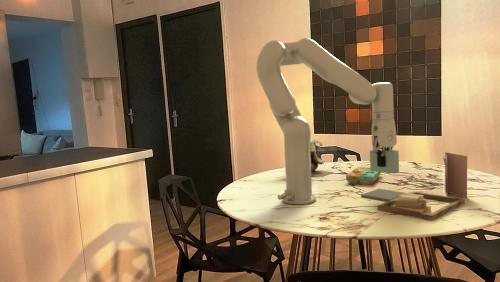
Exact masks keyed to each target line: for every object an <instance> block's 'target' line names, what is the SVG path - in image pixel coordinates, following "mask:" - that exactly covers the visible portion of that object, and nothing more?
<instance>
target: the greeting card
mask: <svg viewBox="0 0 500 282" xmlns="http://www.w3.org/2000/svg"><path fill="white" fill-rule="evenodd" d="M442 159H443V163H444V193H445V196H447V197H448V193H449V194H450V193H451V194H454V195H457V196H458V197H459V196H460V197H463V198H464V199H465V198H466V199H468V155H463V154H456V153H452V152H446V151H445V152H444V157H442Z"/></svg>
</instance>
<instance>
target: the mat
mask: <svg viewBox="0 0 500 282" xmlns="http://www.w3.org/2000/svg"><path fill="white" fill-rule="evenodd" d="M404 193H405V192H404V191H396V190H389V189H383V188H377V189H373V190H371V191H368V192H365V193H363V194H361V195H360V197H361V198H366V199H372V200H377V201H383V202H387V201H390V200H392V199H395V198H398V196H399V195H402V194H404Z"/></svg>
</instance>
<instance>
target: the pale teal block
mask: <svg viewBox="0 0 500 282" xmlns="http://www.w3.org/2000/svg"><path fill="white" fill-rule="evenodd" d="M379 150H382V149H379ZM399 152H400V151H399V150H397V149H396V150H395V149H392V150H384V156H386V166H385V167H379V166H377V156H376V153H375V152H374V151H373V148H372V149H370V150H369V162H370V164H369V165H370V167H369V168H370V170H371V171H376V172H381V173H387V174H398V173H400V163H399V162H400V160H399V159H400V158H399V157H400V155H399V154H400V153H399Z"/></svg>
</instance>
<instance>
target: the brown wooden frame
mask: <svg viewBox="0 0 500 282" xmlns="http://www.w3.org/2000/svg"><path fill="white" fill-rule="evenodd" d="M409 193H410V194H417V195H423V199H429V200H434V201H440V202H441V201H442V202H445V203H446V202H448V203H450V204H447V205H445V206H444V207H441V208H439V209H437V210H436V211H434V212H431V213H422V212H416V211H411V210H406V209H400V208H395V207H391V206H392V205H394V204H396V200H397V199H398V198H395V199H392V200H390V201H384V202H382V203H380V204H377V210H378V211H382V212H388V213H393V214H397V215H401V216H402V215H403V216H407V217H412V218H419V219H421V220H428V221H433V220H437V218H439V217H442V216H444V215H445V214H447V213H449V212H451V211H453V210H455V209H457V208H459V207H461V206H463V205H465V203H466V199H465V198H459V197H453V196H448V195H447V196H446V195H439V194H433V193H426V192H420V191H410V192H409Z"/></svg>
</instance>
